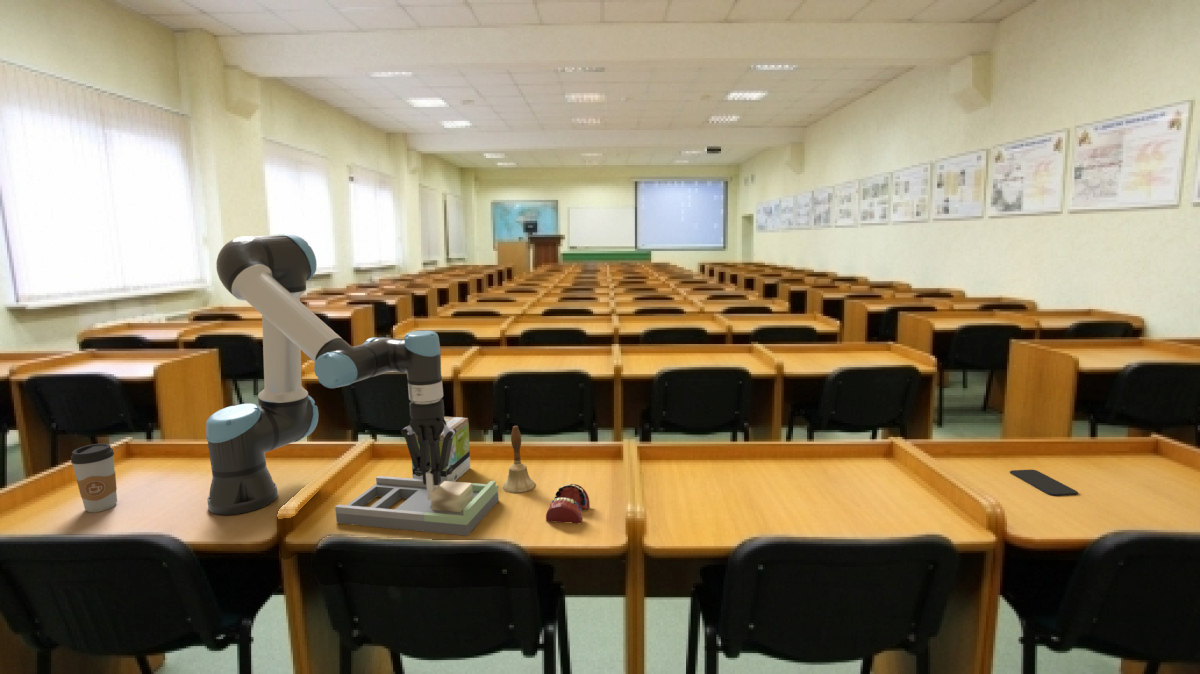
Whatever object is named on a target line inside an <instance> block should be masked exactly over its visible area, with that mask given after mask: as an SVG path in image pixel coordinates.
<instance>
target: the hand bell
mask: <svg viewBox="0 0 1200 674" xmlns="http://www.w3.org/2000/svg"><path fill="white" fill-rule="evenodd" d="M510 441H511V446H512V448H513V464H511V465H510V466H509V467H508V476H507V479H506V480H505V482H504V483H503V485H502V489H503V491H504V492H507V493H511V494H512V493H513V494H522V493H525V492H528V491H531V490H533V489H534V488H535V487H536V482H535V481H534V480H533V479H532V478H531V477H530V475H529V472H528V468H527V465H526V464H525V463H522V458H521V446H522V434H521V432H520V429H519V426H518V425H514V426H512V430H511V435H510Z"/></svg>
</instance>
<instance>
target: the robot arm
mask: <svg viewBox="0 0 1200 674" xmlns="http://www.w3.org/2000/svg"><path fill="white" fill-rule="evenodd" d="M315 254H316V253H315V252H314V250H313V248H312V246H310V245H309V243H308V242H307V240H305V239H304V238H302V237H300V236H298V235H295V234H270V235H267V234H266V235H256V236H251V235H250V236H247V235H246V236H239V237H236V238H234V239H231V240H230V241H228V242H227V243H225V245H224V246H222V248H221V249H220V250H219V252H218V254H217V258H216V264H215V265H216V266H215V267H216V273H217V276H218V278H219V281H220V282H221V284H222V286H223V287H224V288H225V289H226V291H228V292H229V293H230V295H232V296H233V297H234V298H236V299H237V300H240V301H246V302H247V303H248V304H249V305H250V306H251V307H253V308H254V309H255V311H257V312H258V313H259V314H261V316H262V317H261V321H262V323H261V325H262V345H263V347H262V351H263V353H262V356H263V378H264V379H263V380H264V385H263V386H264V388H263V389H262V390H261V391H259V393H258V395H257V403H258V404H255V403H249V402H248V403H240V404H237V405H230V406H227V407H223V408H222V409H219V410H217V411H215V412H214V413H212V414H211V415H210V416H209V417H208V418H207V420H206V422H205V431H206V434H205V438H206V441H207V447H208V453H209V461H210V466H211V467H210V468H211V476H212V480H211V484H210V487H209V495H208V496H207V507H208V511H209V512H210V513H211V514H215V515H221V516H222V515H223V516H229V515H239V514H240V515H241V514H246V513H248V512H249V513H250V512H253V511H256V510H259V509H262V508H264V507H266V506H269V505H270V504H271V503H273V502H274V501H276V499H277V498H278V496H279V493H278V486H277V484H276V483H275V482H274V481H273V477H272V475H271V473H270V471H269V469H268V467H267V461H266V453H268V452H271V451H274V450H277V449H279V448H281V447H284V446H287V445H290V444H292V443H296V442H299V441H301V440H302V439H305V438H306V437H308V436H310V435H312V433H313V432H314V431H315V430H316V427H317V426H318V422H319V409H318V406H317V405H315V403H316V401H315V400H314V398H312V396H310V395H309V391H308V390H306V389H305V388H304V386H303V385H302V352H303V354H305V355H306V356H307V357H309V359H311V360H312V361H313V363H314V369H313V370H314V374H315V377H317V380H318V382H319V384H321V385H322V386H323V387H325V388H328V389H336V388H340V387H341V388H343V387H346V386H350V385H352V384H354V383H357V382H360V381H363V380H366V379H370V378H373V377H377V376H381V375H383V374H385V373H390V372H391V373H392V372H394V373H404V374H406V377H407V379H406V380H407V387H408V388H407V390H408V391H407V392H408V400H409V401H410V402H409V403H408V405H409V416H410V421H409V425H407V426H405V427H404V428H402V429H401V430H400V433H401V435H402V437H404V440H405V442H406V445H407V449H408V451H409V455H410V459H411V463H412V462H413V466H414V468H415V469H420V470H421V471H422V474H423V483H424V485H427V499H428V500H431V492H433V491H434V490H435V489H436V488H437V487H438V485H439V484H440V483H441V473H440V471H443V470H444V469H445V468H446V467H447V466H448V463H449V457H450V451H451V446H452V440H453V437H454V435H455V434H456V429H450V428H449V427H448V426H446V421H445V420H444V417H445V405H444V398H443V397H444V387H443V377H442V358H441V356H442V349H441V344H440V337H439V335H438V333H437V332H435V331H432V330H416V331H415V330H414V331H410V332H407V333H405V335H404V339H401V338H393V337H391V338H390V337H389V338H388V337H384V336H380V337H379V336H378V337H370V338H367V339H366V340H365V341H364V342H363V343H362V344H359V345H355V346H352V345H351V344H349V343H348V342H347V341H346V340H344V339H343V338H342V337H341V336H340V335H339V334H338V333H336V332H335V331H334V330H333V329H332V328H331V327H330V326H328V324H326V322H324V321H323V320H322V319H320V317H319V316H317V315H316V314H315V313H313V311H312V310H310V309H309V308H308V307H307V306H306V305H305V304H304V303H303V302H301V301H300V300H301V296H302V295H304V293H305V292H306V291H307V281H310V279H312V278H313V277H314V275H315V274H316V271H317V259H316V255H315ZM443 431H444V435H443V436H444V437H445V438H444V440H443V445H442V451H441V457H440V444H439V441H440V435H441V434H442V432H443ZM414 432H415V434H416V435H417V436H418V443H417V439H416V436H415V434H414ZM418 444H419V446H418ZM429 445H430V446H429ZM419 447H420V449H419ZM430 456H431V461H430ZM430 468H431V469H430Z"/></svg>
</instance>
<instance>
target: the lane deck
mask: <svg viewBox="0 0 1200 674" xmlns="http://www.w3.org/2000/svg"><path fill="white" fill-rule="evenodd" d="M375 480H376V483H375V484H374V485H372V486H371V487H369V488H368V489H366V491H364V492H362V493H361V494H360V495H358V496H357V497H355V498H354V499H353V500H351V501H350V502H349V503H348V504H337V505H335V506H334V507H335V508H334V510H335V517H336V518H335V519H336V523H337V522H338V523H337V524H339V523H345V524H344V525H350V524H354V525H353V526H360V525H363V526H364V527H372V528H373V527H374V528H381V529H392V530H393V529H394V530H403V531H404V530H405V531H414V532H424V533H435V534H436V533H437V534H445V535H454V536H466V537H468V536H469V535H470V534H471V533H472V532H473V530H474V529H475V528H476V527H477V526H478V525H479V524H480V522H481V521H482V520H483V519H484V518H485V516H486V515H487V514H489V512H490V511H491V510H492V509H493V508H494V506H496V504H497V503H498V502H499V486H498V484H497V483H496V482H497V481H496V480H490V481H489V482H488V483H486V484H485V483H474V482H471V483H472V490H473V500H472V501H471V502H470V503H469V504H468V505H467V506H466V507H465V508H464V509H463V510H462V511H461V512H452V511H441V510H432V505H431V500H428V499H427V485H424V483H423V479H413V477H411V478H410V477H409V478H408V477H397V476H384V475H378V476H376V477H375ZM443 482H444V481H441V483H440V484H439V485H441V484H442V483H443ZM451 482H452V481H451ZM464 483H466V482H465V481H464ZM439 485H438V486H439ZM376 497H381V498H379V499H378V500H377V501H376V502H374V503H373V504H372V505H371V506H366V505H367V504H369V503H370V502H372V501H373V499H375V498H376ZM400 499H405V500H404V501H403V502H402V503H401V504H399V506H397V507H396V508H395V509H394V508H390V507H392V506H393V505H394V504H395V503H397V502H398V501H399V500H400Z"/></svg>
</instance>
